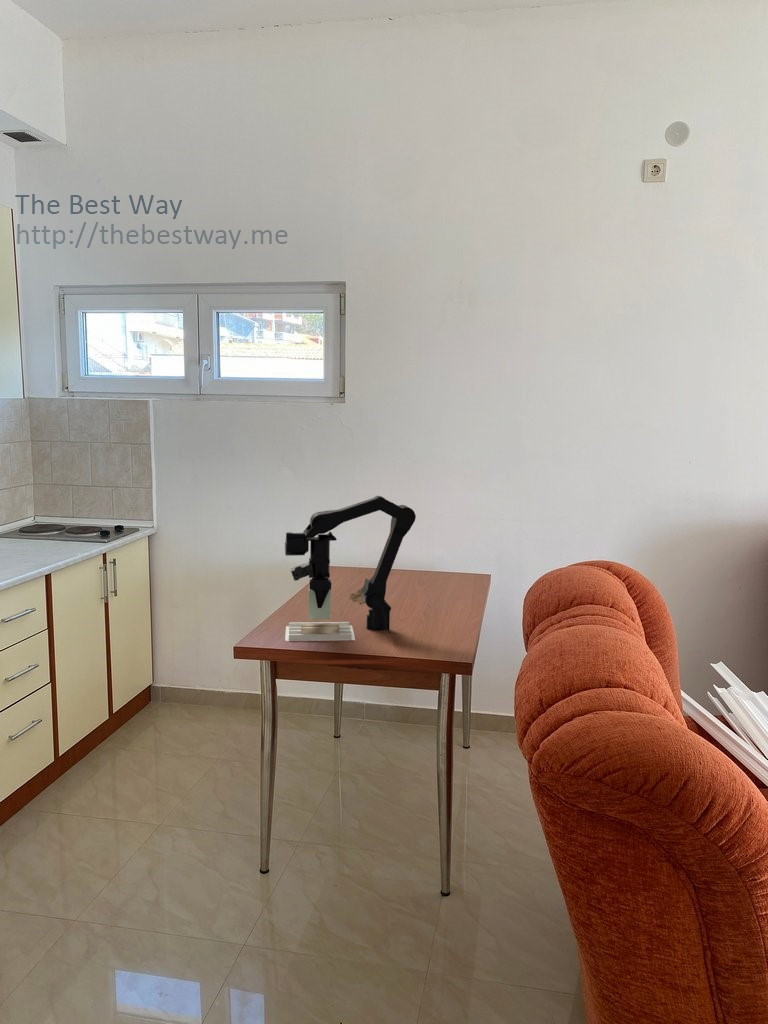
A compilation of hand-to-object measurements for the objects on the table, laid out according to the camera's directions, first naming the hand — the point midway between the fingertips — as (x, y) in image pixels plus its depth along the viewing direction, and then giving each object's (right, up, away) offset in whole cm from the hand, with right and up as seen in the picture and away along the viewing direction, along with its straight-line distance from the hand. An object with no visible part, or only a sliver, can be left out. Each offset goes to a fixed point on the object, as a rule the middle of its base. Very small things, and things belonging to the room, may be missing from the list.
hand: (319, 606), depth 234 cm
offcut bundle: (+1, -8, -7) cm, 11 cm away
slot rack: (0, -8, -2) cm, 9 cm away
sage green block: (0, -4, 0) cm, 4 cm away
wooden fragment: (+13, -3, +49) cm, 51 cm away
